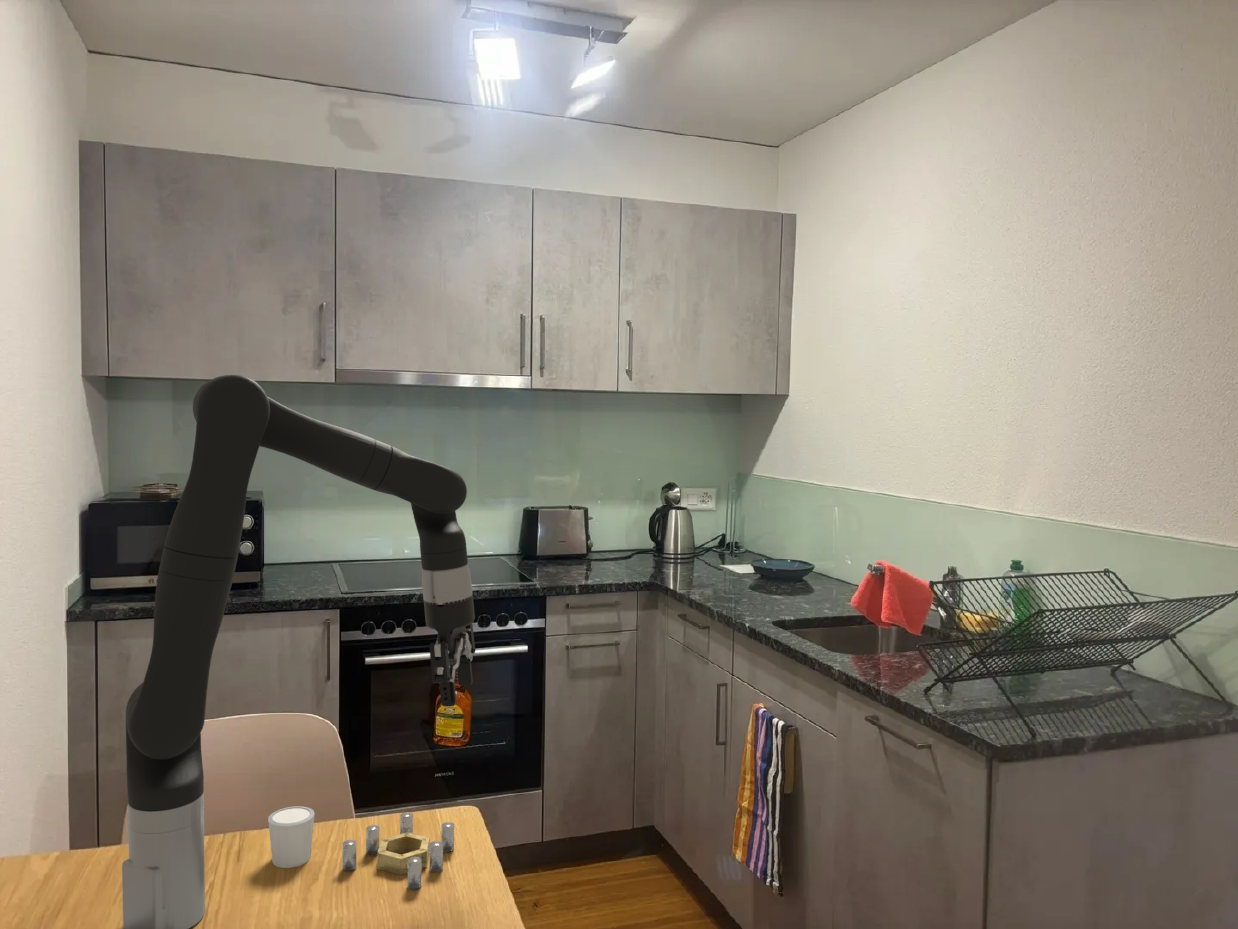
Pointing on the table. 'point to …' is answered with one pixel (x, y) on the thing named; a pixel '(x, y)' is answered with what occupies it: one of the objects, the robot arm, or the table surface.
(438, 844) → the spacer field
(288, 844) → the white cup
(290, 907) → the table surface
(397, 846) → the tan hexagonal ring
